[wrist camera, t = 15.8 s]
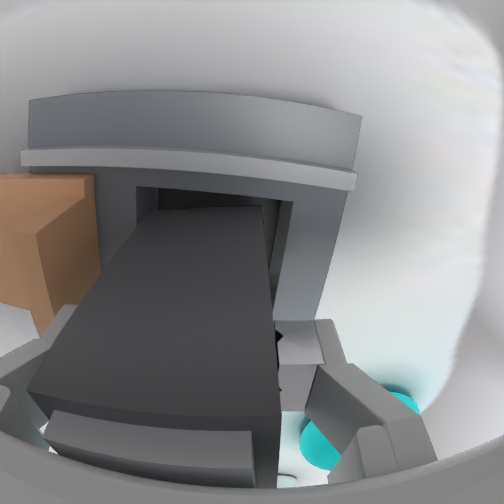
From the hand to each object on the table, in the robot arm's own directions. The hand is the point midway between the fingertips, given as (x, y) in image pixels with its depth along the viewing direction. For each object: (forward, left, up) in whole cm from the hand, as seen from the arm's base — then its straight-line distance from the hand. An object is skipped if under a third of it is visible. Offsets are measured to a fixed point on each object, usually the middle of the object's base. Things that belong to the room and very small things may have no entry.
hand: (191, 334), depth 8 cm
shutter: (-4, +6, -4) cm, 8 cm away
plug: (0, 0, -4) cm, 4 cm away
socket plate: (-1, +1, -7) cm, 7 cm away
